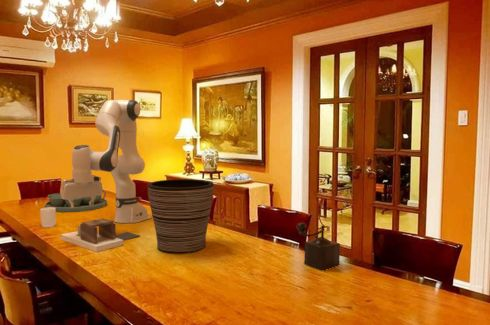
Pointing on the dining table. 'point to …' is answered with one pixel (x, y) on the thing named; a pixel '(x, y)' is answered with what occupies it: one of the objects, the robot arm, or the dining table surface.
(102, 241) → the puzzle board
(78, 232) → the block
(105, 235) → the cover
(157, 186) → the planter pot
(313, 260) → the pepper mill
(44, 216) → the white cup
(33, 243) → the dining table surface
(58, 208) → the tea set
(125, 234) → the mat
